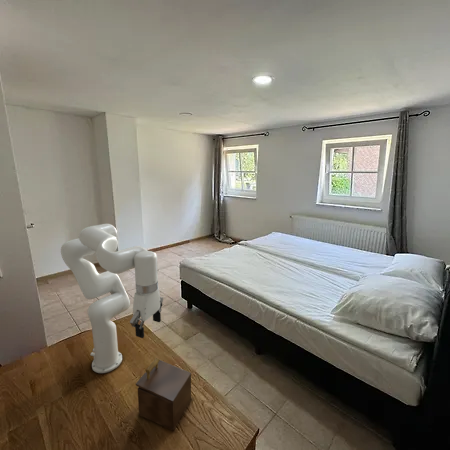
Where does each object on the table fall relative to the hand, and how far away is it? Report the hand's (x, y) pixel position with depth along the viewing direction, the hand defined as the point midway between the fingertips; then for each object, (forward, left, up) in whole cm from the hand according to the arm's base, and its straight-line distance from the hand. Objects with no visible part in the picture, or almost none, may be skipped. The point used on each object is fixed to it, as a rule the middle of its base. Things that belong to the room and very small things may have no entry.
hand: (148, 328), depth 90 cm
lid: (+8, -2, -18) cm, 20 cm away
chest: (+8, -2, -30) cm, 31 cm away
